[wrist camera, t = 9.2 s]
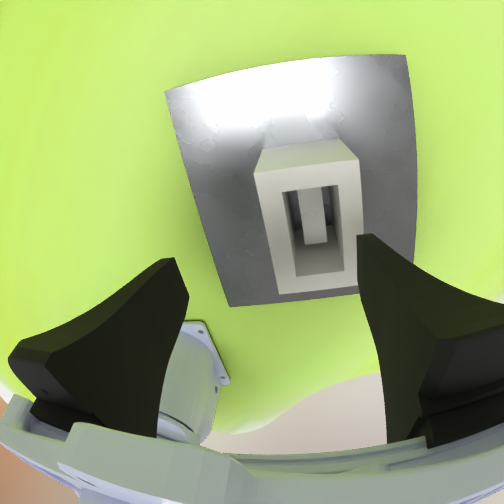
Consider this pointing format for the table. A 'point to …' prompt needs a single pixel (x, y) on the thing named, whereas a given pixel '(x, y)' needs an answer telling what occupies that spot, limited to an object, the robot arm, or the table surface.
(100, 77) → the table surface
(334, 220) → the duct sleeve
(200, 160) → the duct plate
